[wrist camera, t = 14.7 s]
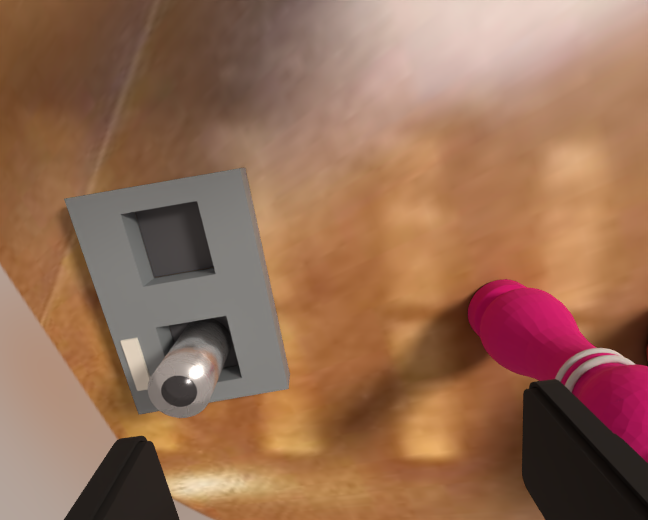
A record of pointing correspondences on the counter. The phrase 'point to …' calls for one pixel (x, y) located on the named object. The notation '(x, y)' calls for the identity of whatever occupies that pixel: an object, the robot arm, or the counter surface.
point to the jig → (183, 277)
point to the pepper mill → (561, 355)
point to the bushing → (190, 369)
